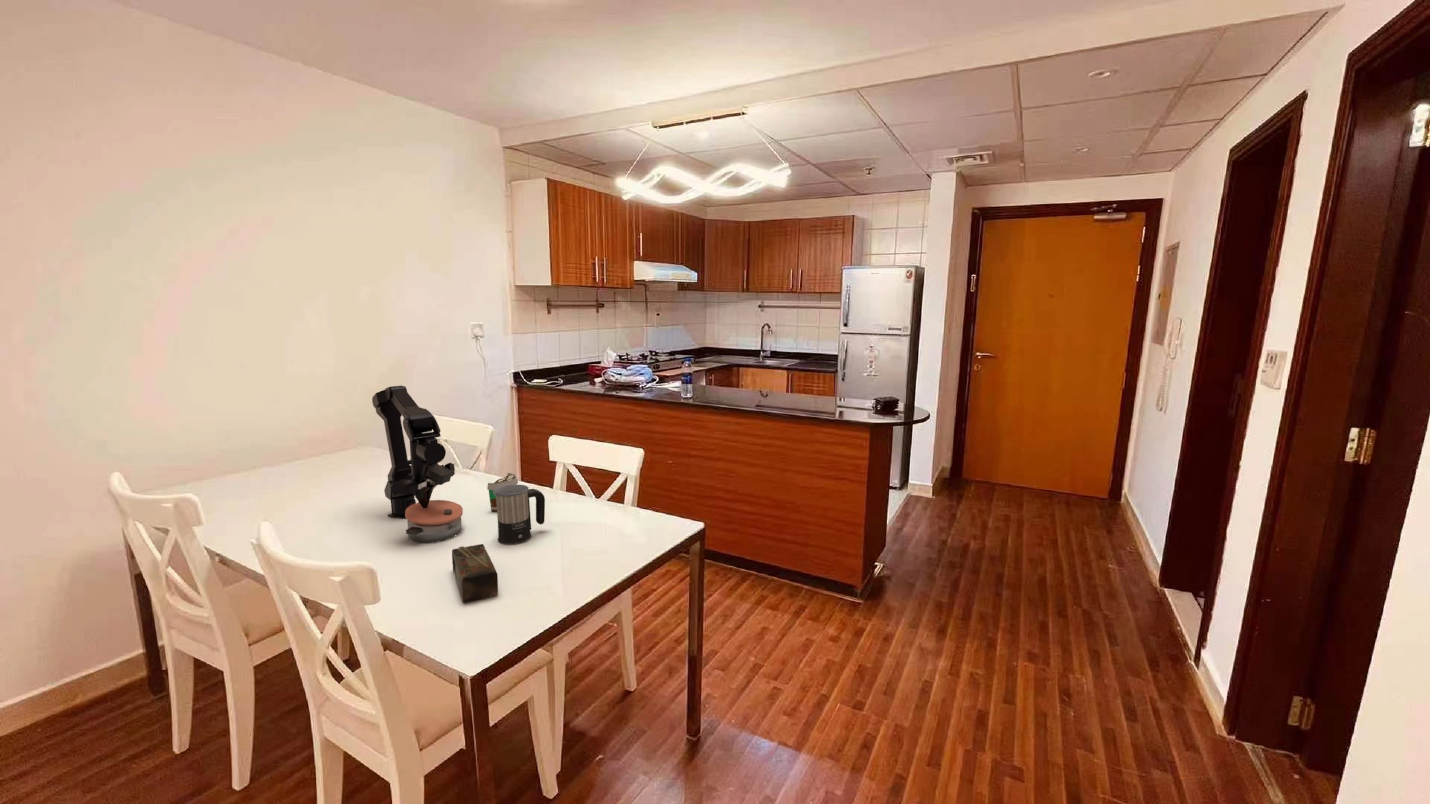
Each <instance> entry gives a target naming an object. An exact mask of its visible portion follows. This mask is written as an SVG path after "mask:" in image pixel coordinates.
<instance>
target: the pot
mask: <svg viewBox="0 0 1430 804" xmlns="http://www.w3.org/2000/svg"><path fill="white" fill-rule="evenodd" d="M406 520H407V522H406V523H407V529H406V530H405V534H406V535H408V539H409V541H411V542H413V543H417V544H432V542H433V543H438V542H437V541H440V542H445V541H447V540H450V539H453V538H455V537H456V536H455V535H457V536H458V535H460V534H461V533H462V531H463V527H462V525H463V524H462V516H461V517H460V518H458V519H457V520H455V521H452V522H449V523H445V524H438V525H423V524H417V523H413V522H411V521H409V520H408V519H406ZM461 530H462V531H461ZM460 532H461V533H460ZM459 533H460V534H459ZM454 536H455V537H454ZM452 537H453V538H452ZM449 538H450V539H449ZM446 539H447V540H446Z"/></svg>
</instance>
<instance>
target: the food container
mask: <svg viewBox="0 0 1430 804" xmlns="http://www.w3.org/2000/svg"><path fill="white" fill-rule="evenodd" d="M518 484H519V480H518V477H517V475H516V474H515V473H511V472H507V475H506V476H504V477H502V478H498V479H497V480H495V482H488V483H487V486H486V487H487V488H486V490H487V491H488V495H489V503H490V510H491V513H497V503H496V495H495V490H496V489H498V488H500V487H503V486H507V485H518Z"/></svg>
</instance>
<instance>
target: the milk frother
mask: <svg viewBox="0 0 1430 804" xmlns="http://www.w3.org/2000/svg"><path fill="white" fill-rule="evenodd" d="M495 495H496V503H497V512H496V514H497V515H496V516H497V534H498V535H497V536H498V537H497V542H498V543H500V544H502V545H503V544H504V545H517V544H518V545H519V544H522V543H525V542H527V541H529V540H530V539H531V538H532V532H531V530H532V523H531V522H532V521H531V508H530V507H531V505H530V498H535V521H536V523H537V524H538V525H541V526H542V525H543V524H544V523H545V518H546V517H545V515H546V514H545V513H546V512H545V511H546V509H545V508H546V498H545V496H544V495H545V494H543V493H542V492H541V491H540V490H538V489H537V488H536V489H535V488H529V486H528V485H524V484H516V485H507V486H503V487H500V488H498V489H496V490H495Z"/></svg>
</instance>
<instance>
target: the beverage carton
mask: <svg viewBox="0 0 1430 804" xmlns="http://www.w3.org/2000/svg"><path fill="white" fill-rule="evenodd" d="M451 563H452V570H453V571H452V572H453V574H454V577H455V581H456V585H457V589H458V592H459V595H460V597H461V600H462V603H470V602H473V601H479V600H483V599H484V600H485V599H487V598H492V597H497V596H498V593H499V584H498V582H499V579H498V572H497V570H496V568H495V565H494V563H493V561H492V559H491V557H490V555H489V553H488V551H487V549H486V547H485V545H484V543H482V544H481V543H480V544H475V545H471V546H465V545H464V546H463V545H461V546H458V548H457V547H456V548H453V549H452V550H451Z"/></svg>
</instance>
